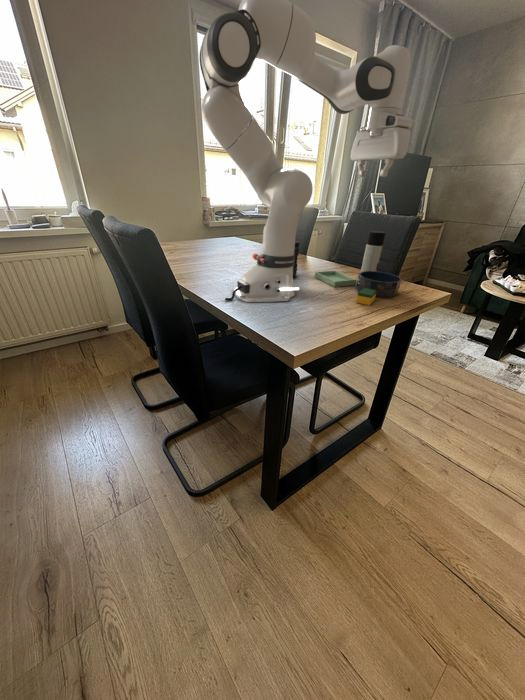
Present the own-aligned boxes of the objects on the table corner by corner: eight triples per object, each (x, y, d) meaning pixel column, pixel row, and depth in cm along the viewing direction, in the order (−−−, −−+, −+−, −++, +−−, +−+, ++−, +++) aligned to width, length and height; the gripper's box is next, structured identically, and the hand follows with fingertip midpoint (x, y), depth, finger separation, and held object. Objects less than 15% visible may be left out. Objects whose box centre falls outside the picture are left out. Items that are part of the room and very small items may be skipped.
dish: (334, 287, 115) (335, 281, 113) (314, 276, 127) (315, 271, 125) (355, 284, 118) (356, 279, 117) (334, 275, 130) (335, 270, 129)
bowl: (374, 300, 103) (378, 283, 100) (347, 287, 115) (350, 272, 112) (406, 296, 108) (411, 280, 105) (377, 284, 121) (381, 270, 118)
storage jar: (278, 279, 120) (280, 242, 113) (271, 273, 128) (273, 238, 121) (299, 278, 123) (303, 242, 115) (291, 272, 131) (294, 238, 123)
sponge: (369, 305, 98) (371, 295, 96) (356, 302, 100) (358, 292, 98) (374, 300, 103) (376, 290, 101) (362, 297, 105) (364, 287, 103)
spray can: (376, 281, 124) (388, 233, 113) (361, 281, 124) (372, 232, 113) (371, 277, 129) (382, 231, 119) (357, 277, 129) (367, 230, 119)
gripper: (350, 126, 92) (342, 176, 99) (403, 116, 76) (389, 175, 83) (364, 129, 95) (356, 177, 101) (418, 119, 79) (404, 177, 86)
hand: (371, 176), depth 92 cm, fingers open, 8 cm apart
